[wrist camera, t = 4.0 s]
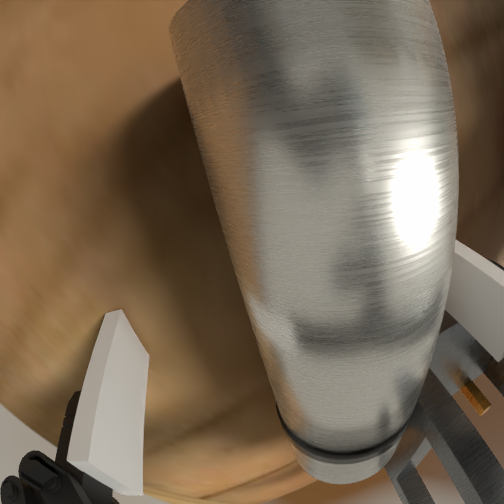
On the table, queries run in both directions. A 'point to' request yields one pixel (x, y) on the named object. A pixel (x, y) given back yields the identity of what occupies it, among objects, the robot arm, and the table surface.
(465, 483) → the collar stand
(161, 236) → the table surface
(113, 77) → the table surface
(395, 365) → the steel tube
